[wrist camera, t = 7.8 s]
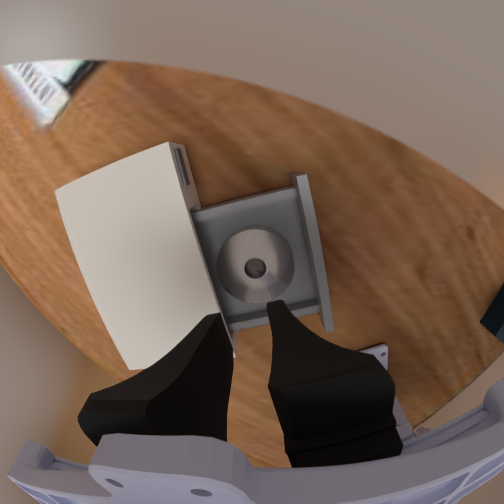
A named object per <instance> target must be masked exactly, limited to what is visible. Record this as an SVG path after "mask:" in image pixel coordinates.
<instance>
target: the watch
mask: <svg viewBox="0 0 504 504" xmlns="http://www.w3.org/2000/svg"><path fill="white" fill-rule="evenodd" d="M480 323H481V324H482V325H483V326H484V327H486V328H487V329H488V330H489V331H490V332H491V333H492V334H493V335H494V336H495V337H496V338H498V339H499V340H500V341H501V342H503V343H504V284H503V285H502V287H501V289H500V291H499V292H498V294H497V296H496V297H495V299H494V301H493V302H492V304H491V306H490V307H489V309H488V310H487V312H486V313H485V315H484V316H483V318H482V319H481V321H480Z"/></svg>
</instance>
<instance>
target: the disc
mask: <svg viewBox="0 0 504 504" xmlns="http://www.w3.org/2000/svg"><path fill="white" fill-rule="evenodd" d="M216 272H217V276H218V279H219V281H220V283H221V285H222V286H223V288H224V289H225V290H226V291H227V292H228V293H229V294H230V295H231V296H233V297H234V298H236V299H238V300H241V301H244V302H248V303H263V302H267V301H270V300H272V299H274V298H276V297H278V296H279V295H281V294H282V293H283V292H284V291H285V290H286V289H287V288H288V286H289V285H290V283H291V281H292V278H293V275H294V259H293V255H292V252H291V249H290V247H289V245H288V243H287V241H286V240H285V239H284V237H283V236H282V235H281V234H280V233H278V232H277V231H275V230H273V229H271V228H269V227H266V226H262V225H249V226H245V227H242V228H239V229H237V230H236V231H234V232H233V233H231V234H230V235H229V236H228V237H227V238H226V240H225V241H224V242H223V244H222V246H221V249H220V251H219V254H218V257H217V262H216Z"/></svg>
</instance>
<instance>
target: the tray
mask: <svg viewBox="0 0 504 504" xmlns="http://www.w3.org/2000/svg"><path fill="white" fill-rule="evenodd" d="M290 177H291V181H292V185H293V186H288V187H284V188H280V189H275V190H271V191H267V192H263V193H259V194H255V195H250V196H246V197H242V198H239V199H235V200H231V201H227V202H223V203H219V204H215V205H212V206H208V207H204V208H201V209H197V210H193V211H190V214H191V217H192V221H193V224H194V227H195V231H196V234H197V237H198V241H199V244H200V247H201V250H202V253H203V257H204V260H205V263H206V266H207V269H208V272H209V275H210V278H211V281H212V284H213V287H214V290H215V293H216V296H217V299H218V302H219V305H220V308H221V311H222V314H223V317H224V320H225V323H226V326H227V328H228V331H234V330H239V329H244V328H250V327H255V326H259V325H264V324H269V323H270V322H269V318H268V314H267V310H266V307H267V302H272V301H276V300H281V299H282V300H283V301H284V302H285V304H286V306H287V307H288V309H289V310H290V311H291V313H292V314H293V315H294V316H295V317H300V316H305V315H309V314H313V313H317V312H318V313H319V316H320V319H321V321H322V324H323V327H324V329H325V332H326V333H328V332H332V331H334V324H333V316H332V309H331V302H330V295H329V289H328V282H327V276H326V270H325V264H324V258H323V252H322V247H321V241H320V236H319V230H318V225H317V220H316V215H315V210H314V205H313V200H312V196H311V191H310V187H309V182H308V178H307V174H304V173H301V172H296V173H291V174H290ZM249 225H262V226H266V227H269V228H271V229H273V230H275V231H277V232H278V233H280V234H281V235H282V236H283V237H284V239H285V240H286V241H287V243H288V245H289V247H290V249H291V252H292V255H293V259H294V275H293V278H292V281H291V283H290V285H289V286H288V288H287V289H286V290H285V291H284V292H283V293H282V294H281V295H279V296H278V297H276V298H274V299H272V300H270V301H267V302H263V303H248V302H244V301H241V300H238V299H236V298H234V297H233V296H231V295H230V294H229V293H228V292H227V291H226V290H225V289H224V288H223V286H222V285H221V283H220V281H219V279H218V276H217V272H216V262H217V257H218V254H219V251H220V249H221V246H222V244H223V242H224V241H225V240H226V238H227V237H228V236H229V235H230V234H231V233H233V232H234V231H236V230H237V229H239V228H242V227H245V226H249Z"/></svg>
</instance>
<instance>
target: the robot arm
mask: <svg viewBox="0 0 504 504" xmlns="http://www.w3.org/2000/svg"><path fill="white" fill-rule="evenodd" d="M266 310H267V314H268V318H269V322H270V326H271V330H272V336H273V349H272V365H271V373H270V378H269V383H268V389H269V392H270V395H271V398H272V401H273V404H274V407H275V410H276V413H277V416H278V419H279V422H280V424H281V427H282V430H283V433H284V444H285V452H286V454H287V455H288V458H289V460H290V463H291V466H292V468H259V467H257V468H256V467H253V466H252V465H251V464H250V462H249V460H248V459H247V457H246V455H245V454H244V453H242V452H241V451H240V450H239V449H237V448H236V447H235V446H234V445H232V444H231V443H228V442H227V410H228V402H229V395H230V389H231V382H232V375H233V347H232V344H231V342H230V339H229V336H228V333H227V330H226V328H225V325H224V322H223V319H222V316H221V313H220V312H219V313H214V314H209V315H206V316H205V317H204V318H203V319H202V320H201V321H200V322H199V323H198V324H197V325H196V326H195V327H194V328H193V329H192V330H191V331H190V332H189V333H188V334H187V335H186V336H185V337H184V338H183V339H182V340H181V341H180V342H179V343H178V344H177V345H176V346H175V347H174V348H173V349H172V350H171V351H170V352H168V353H167V354H166V355H165V356H163V357H162V358H161V359H160V360H158V361H157V362H155V363H154V364H153V365H151V366H150V367H148V368H146V369H145V370H143V371H141V372H140V373H138V374H137V375H135V376H133V377H131V378H129V379H127V380H125V381H123V382H121V383H119V384H116V385H114V386H111V387H109V388H106V389H103V390H100V391H97V392H94V393H91V394H90V395H89V397H88V399H87V401H86V402H85V404H84V406H83V408H82V410H81V411H80V413H79V415H78V422H79V424H80V427H81V429H82V430H83V432H84V433H85V434H86V436H87V437H88V438H89V439H90V440H91V441H92V442H93V443H94V444H95V445H96V446H97V449H96V451H95V453H94V456H93V458H92V460H91V463H90V465H85V464H81V463H77V462H73V461H70V460H66V459H62V458H59V457H56V456H55V455H54V454H53V453H52V452H51V451H50V450H49V449H48V448H47V447H46V446H44V445H43V444H41V443H38V442H35V441H32V440H27V441H26V443H25V445H24V446H23V448H22V449H21V451H20V453H19V454H18V456H17V458H16V459H15V461H14V463H13V465H12V466H11V468H10V470H9V471H8V474H7V476H8V477H9V478H10V479H11V480H12V481H13V482H15V483H16V484H17V485H18V486H19V487H20V488H22V489H23V490H24V491H25V492H27V493H28V494H29V495H30V496H32V497H33V498H34V499H36V500H37V501H38V502H40V503H41V504H458V501H459V500H460V498H462V497H464V496H465V495H467V494H468V493H470V492H471V491H473V490H475V489H476V488H478V487H479V486H481V485H482V484H484V483H485V482H487V481H488V480H489V479H491V478H492V477H494V476H495V475H496V474H498V473H499V472H501V471H502V470H503V469H504V378H502V379H501V380H499V381H498V382H496V383H495V384H494V385H492V386H491V387H490V388H489V390H488V391H487V393H486V395H485V397H484V400H483V403H482V404H481V405H479V406H477V407H476V408H474V409H472V410H471V411H469V412H467V413H465V414H463V415H461V416H459V417H458V418H456V419H454V420H452V421H450V422H448V423H446V424H444V425H442V426H440V427H438V428H435V429H433V430H431V429H427V428H424V427H420V428H419V429H418V430H416V432H417V434H418V436H416V434H415V432H414V430H413V428H412V426H411V424H410V423H409V422H408V419H407V417H406V415H405V413H404V411H403V409H402V407H401V405H400V403H399V401H398V399H397V397H396V395H395V384H394V382H393V380H392V378H391V376H390V374H389V373H388V372H387V365H388V347H387V345H386V344H382V345H378V346H375V347H372V348H369V349H365V350H362V351H359V352H358V351H353V350H350V349H346V348H343V347H340V346H338V345H335V344H333V343H331V342H328V341H326V340H324V339H323V338H321V337H319V336H318V335H316V334H315V333H313V332H312V331H311V330H309V329H308V328H307V327H306V326H304V325H303V324H302V323H301V322H300V321H299V320H298V319H297V318H296V317H295V316H294V315H293V314H292V313H291V311H290V310H289V309H288V307H287V306H286V304H285V302H284V301H283V300H282V299H281V300H276V301H272V302H267V307H266ZM383 352H384V353H383ZM382 353H383V354H382Z"/></svg>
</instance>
